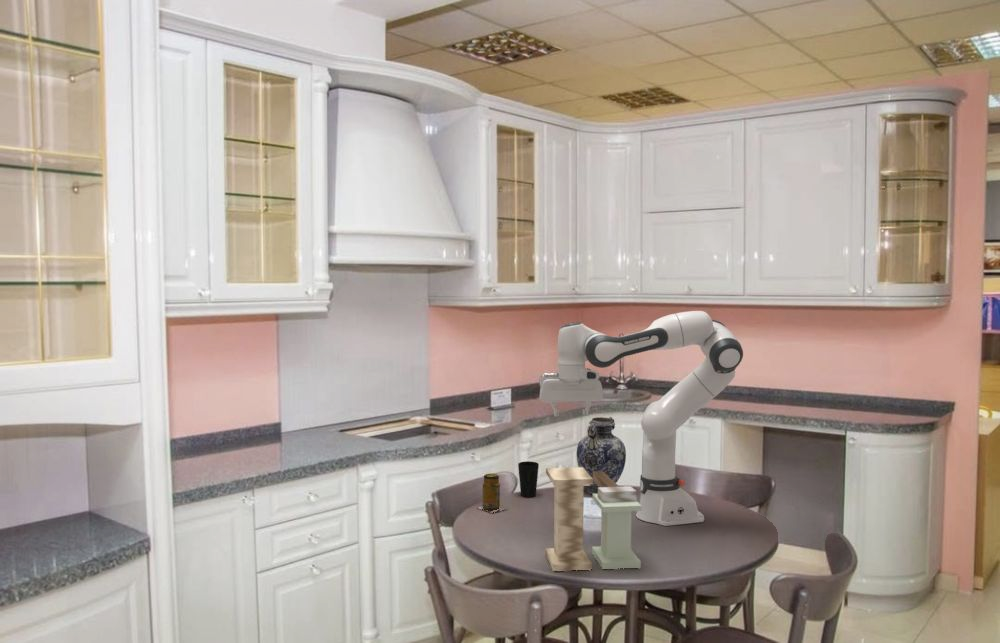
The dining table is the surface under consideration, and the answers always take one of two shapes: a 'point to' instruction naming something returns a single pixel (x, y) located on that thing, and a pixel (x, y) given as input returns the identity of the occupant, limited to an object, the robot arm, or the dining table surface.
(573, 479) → the pedestal tall
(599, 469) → the decorative vase
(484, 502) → the condiment
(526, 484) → the cup
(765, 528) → the dining table surface
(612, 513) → the pedestal low
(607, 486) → the mallet
